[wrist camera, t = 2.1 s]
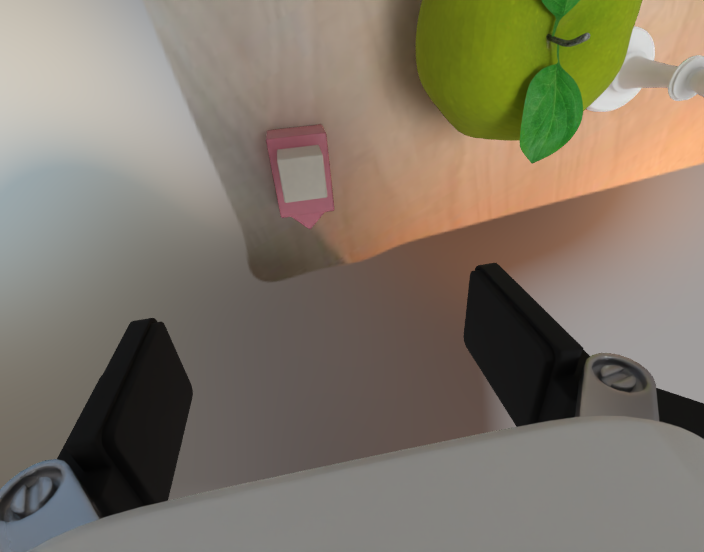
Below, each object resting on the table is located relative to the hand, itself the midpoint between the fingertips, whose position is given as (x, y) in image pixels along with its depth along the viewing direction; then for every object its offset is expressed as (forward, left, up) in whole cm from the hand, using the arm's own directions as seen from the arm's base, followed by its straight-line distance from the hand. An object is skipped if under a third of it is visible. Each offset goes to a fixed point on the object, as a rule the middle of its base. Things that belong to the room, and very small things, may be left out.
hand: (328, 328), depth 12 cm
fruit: (-1, +13, -16) cm, 20 cm away
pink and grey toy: (0, 0, -16) cm, 16 cm away
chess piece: (+5, +21, -16) cm, 27 cm away
